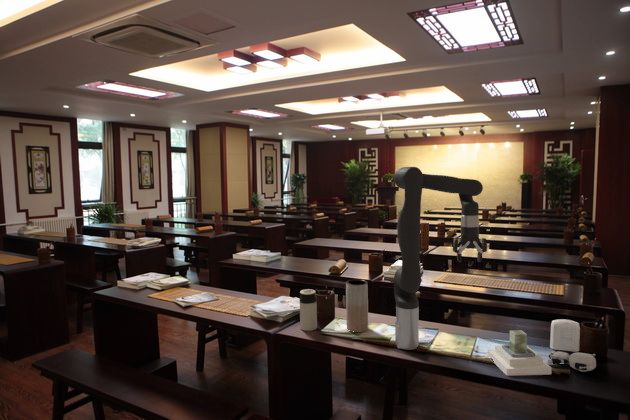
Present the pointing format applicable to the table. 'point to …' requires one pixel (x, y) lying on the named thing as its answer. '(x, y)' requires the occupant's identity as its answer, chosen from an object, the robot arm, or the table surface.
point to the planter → (357, 305)
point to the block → (518, 341)
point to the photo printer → (565, 335)
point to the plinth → (519, 368)
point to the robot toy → (574, 360)
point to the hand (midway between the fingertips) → (469, 261)
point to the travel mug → (308, 310)
